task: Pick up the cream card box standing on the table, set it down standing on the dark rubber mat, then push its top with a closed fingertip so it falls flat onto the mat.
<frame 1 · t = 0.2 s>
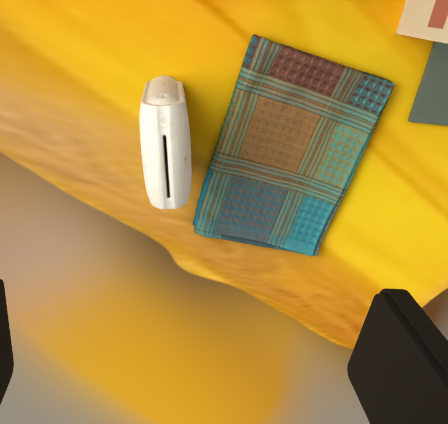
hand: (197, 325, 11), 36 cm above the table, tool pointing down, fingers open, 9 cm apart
photo printer: (166, 122, 45), on the table
dish towel: (283, 157, 49), on the table
card box: (415, 0, 42), on the table
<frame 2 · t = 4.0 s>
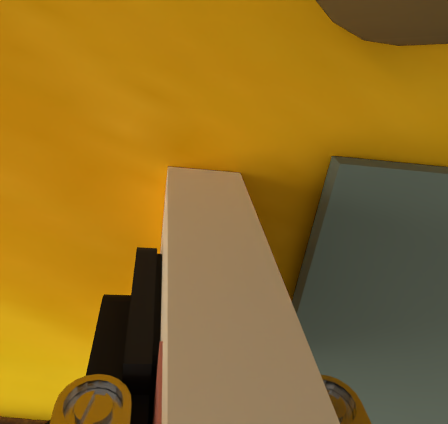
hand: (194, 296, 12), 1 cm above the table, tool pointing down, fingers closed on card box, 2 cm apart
card box: (192, 267, 13), on the table, touching gripper
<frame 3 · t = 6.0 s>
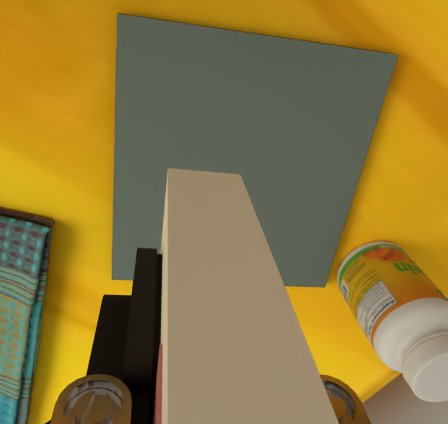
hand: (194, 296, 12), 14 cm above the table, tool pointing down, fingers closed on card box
mat: (240, 173, 25), on the table
supplement bottle: (369, 268, 31), on the table
card box: (192, 268, 13), point 13 cm above the table, touching gripper
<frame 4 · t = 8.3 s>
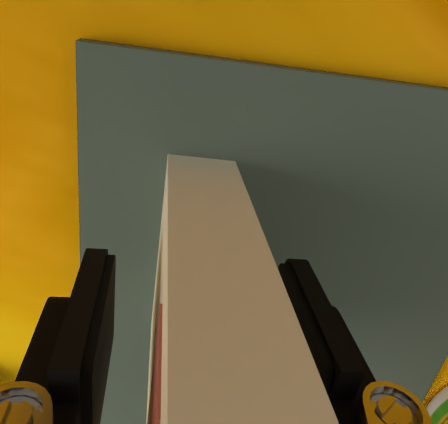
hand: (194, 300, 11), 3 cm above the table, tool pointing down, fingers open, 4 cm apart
mat: (289, 291, 16), on the table
card box: (189, 250, 14), point 1 cm above the table, touching mat
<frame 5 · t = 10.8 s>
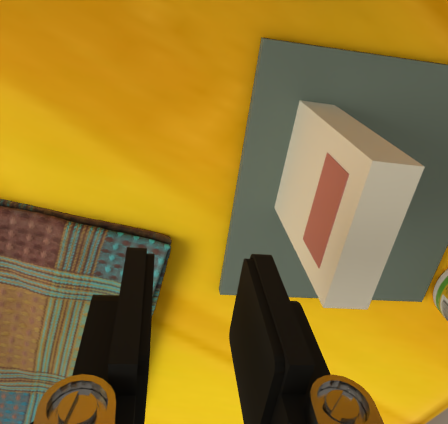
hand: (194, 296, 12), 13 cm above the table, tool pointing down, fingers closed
mat: (354, 191, 26), on the table
dish towel: (18, 341, 29), on the table
card box: (302, 159, 24), point 1 cm above the table, touching mat
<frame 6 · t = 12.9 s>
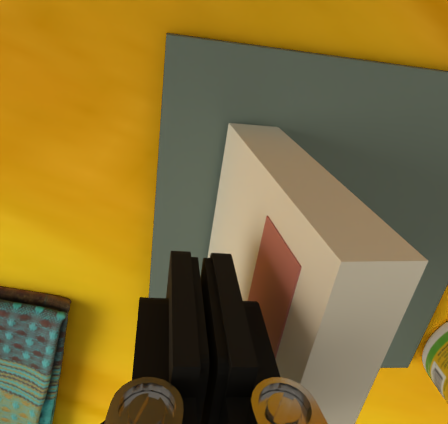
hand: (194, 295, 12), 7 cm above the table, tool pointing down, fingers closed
mat: (314, 237, 19), on the table
card box: (239, 200, 17), point 1 cm above the table, tilted 6°, touching mat
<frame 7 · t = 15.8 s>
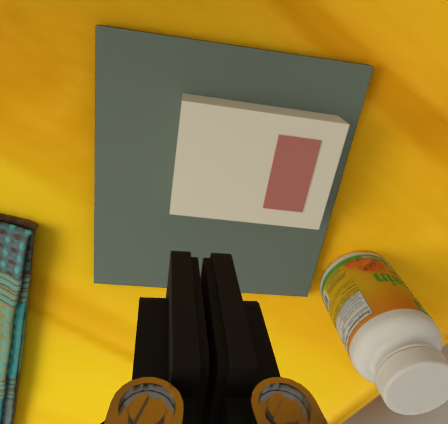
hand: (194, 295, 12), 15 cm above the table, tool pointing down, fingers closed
mat: (219, 181, 26), on the table
supplement bottle: (353, 278, 31), on the table
card box: (175, 154, 23), point 2 cm above the table, tilted 89°, touching mat
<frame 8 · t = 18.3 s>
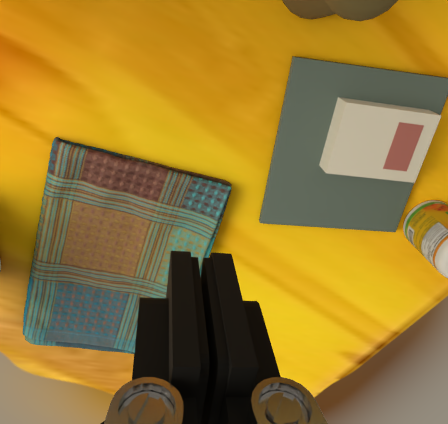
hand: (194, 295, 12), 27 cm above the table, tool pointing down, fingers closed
mat: (348, 153, 40), on the table
supplement bottle: (424, 220, 45), on the table
dish towel: (122, 258, 44), on the table
card box: (331, 135, 37), point 2 cm above the table, tilted 89°, touching mat
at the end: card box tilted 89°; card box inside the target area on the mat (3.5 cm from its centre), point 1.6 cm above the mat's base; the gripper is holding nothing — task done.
